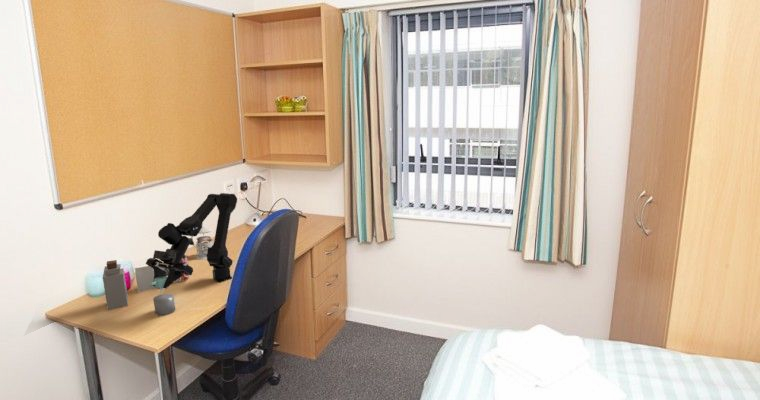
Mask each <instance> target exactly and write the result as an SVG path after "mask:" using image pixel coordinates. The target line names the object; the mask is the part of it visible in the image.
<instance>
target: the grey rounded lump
mask: <svg viewBox="0 0 760 400" xmlns="http://www.w3.org/2000/svg"><path fill="white" fill-rule="evenodd" d="M175 303H176V302H175V296H174V294H173V293H162V294H158V295H156V296H154V298H153V306H154V314H155V315H157V316H159V317H160V316H161V317H162V316H167V315H170V314H173V313H174V312H175V311H176V304H175Z"/></svg>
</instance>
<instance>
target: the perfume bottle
mask: <svg viewBox="0 0 760 400" xmlns="http://www.w3.org/2000/svg"><path fill="white" fill-rule="evenodd" d="M102 282H103V289H104V295H105V299H106V300H105V301H106V307H107V310H114V309H118V308H125V307H128V305H129V295H128V289H127V283H126V276H125V270H124V267H123V268H121V263H118V262H117V259H116V260H115V259H114V260H108V261H106V265H105V266H104V269H103V274H102ZM124 306H125V307H124Z"/></svg>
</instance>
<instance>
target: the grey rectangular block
mask: <svg viewBox="0 0 760 400" xmlns="http://www.w3.org/2000/svg"><path fill="white" fill-rule="evenodd" d="M134 272H135V281H136V286H137V287H136V288H137V291H138V292H139V293H140V292H144V291H150V290H155V289H157V288H155V287H154V286H150V284H151V283H153V279H154V270H153V268H152V267H150V266H148V265H146V266H140V267H135V268H134ZM138 292H137V293H138Z"/></svg>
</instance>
